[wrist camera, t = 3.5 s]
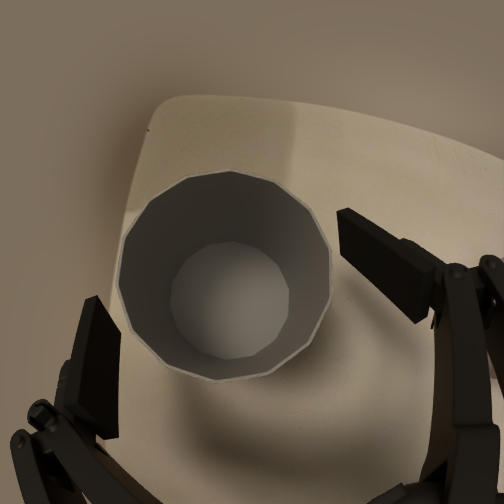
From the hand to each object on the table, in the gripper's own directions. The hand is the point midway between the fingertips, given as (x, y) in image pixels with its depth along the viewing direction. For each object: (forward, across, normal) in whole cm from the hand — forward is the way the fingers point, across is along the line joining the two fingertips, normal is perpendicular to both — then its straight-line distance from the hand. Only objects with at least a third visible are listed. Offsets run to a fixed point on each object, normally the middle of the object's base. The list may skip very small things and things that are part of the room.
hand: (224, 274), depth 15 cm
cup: (+4, 0, -5) cm, 6 cm away
